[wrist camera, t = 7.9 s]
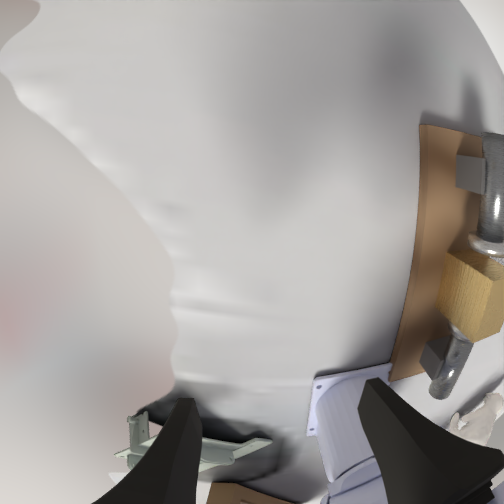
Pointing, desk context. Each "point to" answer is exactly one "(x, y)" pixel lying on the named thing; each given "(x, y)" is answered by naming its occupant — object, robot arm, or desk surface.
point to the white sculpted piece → (478, 420)
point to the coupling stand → (448, 247)
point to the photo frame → (238, 495)
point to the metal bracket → (210, 453)
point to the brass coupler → (472, 293)
